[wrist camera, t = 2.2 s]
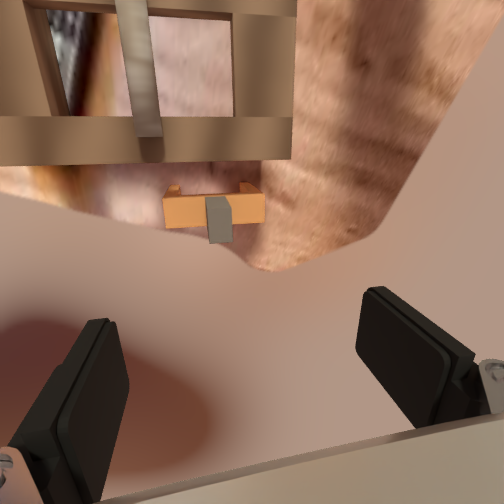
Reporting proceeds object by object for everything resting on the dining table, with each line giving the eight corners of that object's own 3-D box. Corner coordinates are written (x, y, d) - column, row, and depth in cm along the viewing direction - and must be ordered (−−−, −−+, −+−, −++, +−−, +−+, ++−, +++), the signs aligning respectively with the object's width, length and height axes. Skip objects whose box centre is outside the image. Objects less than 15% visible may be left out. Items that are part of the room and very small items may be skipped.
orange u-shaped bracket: (248, 182, 37) (279, 205, 23) (248, 204, 38) (278, 238, 25) (170, 185, 36) (154, 212, 22) (173, 208, 37) (159, 247, 23)
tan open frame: (262, 22, 31) (309, -62, 18) (261, 154, 36) (298, 160, 24) (23, 7, 27) (-132, -114, 14) (61, 158, 32) (-27, 168, 19)
